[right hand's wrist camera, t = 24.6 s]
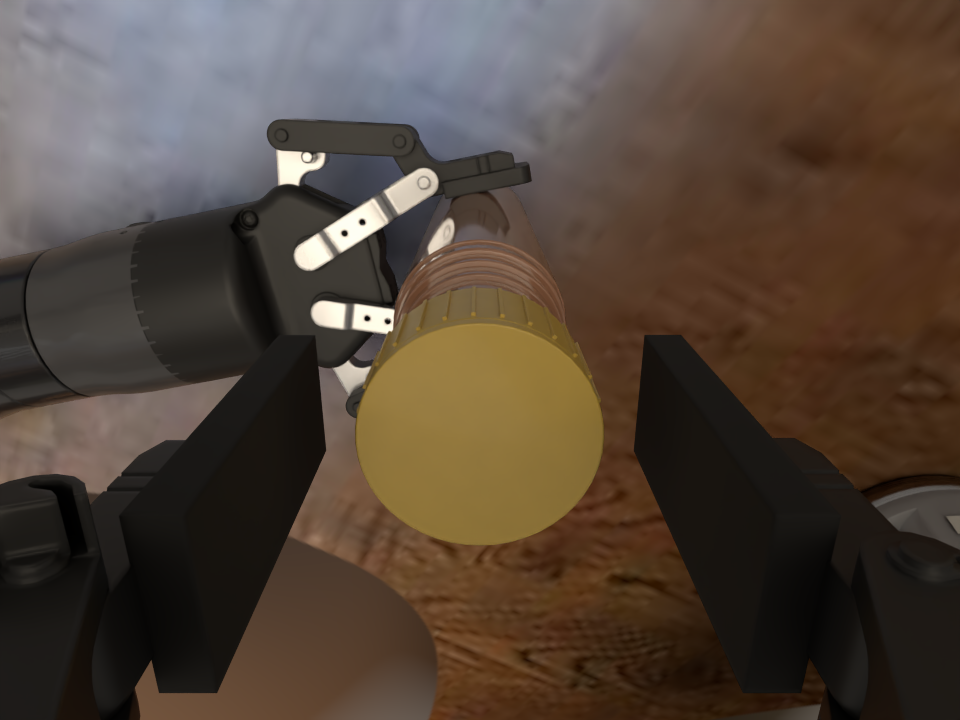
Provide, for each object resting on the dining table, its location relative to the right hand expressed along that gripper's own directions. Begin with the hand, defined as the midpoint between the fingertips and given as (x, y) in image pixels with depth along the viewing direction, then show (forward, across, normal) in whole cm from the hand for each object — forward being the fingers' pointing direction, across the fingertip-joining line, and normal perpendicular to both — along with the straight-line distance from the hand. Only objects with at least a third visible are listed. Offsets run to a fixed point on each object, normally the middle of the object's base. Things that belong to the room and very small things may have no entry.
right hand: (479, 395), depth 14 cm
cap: (-2, 0, 0) cm, 2 cm away
